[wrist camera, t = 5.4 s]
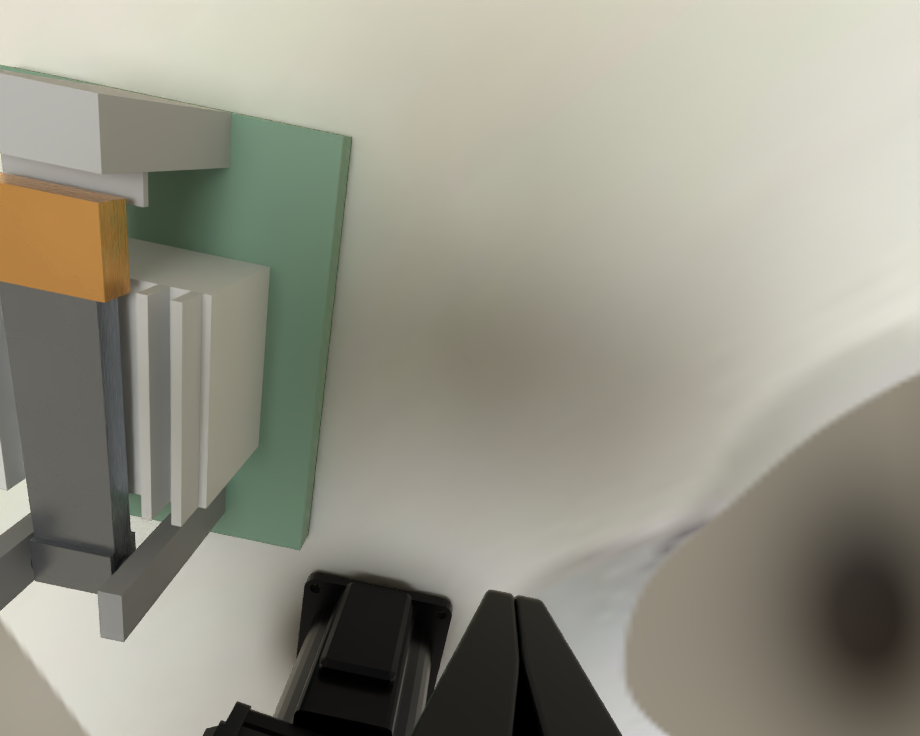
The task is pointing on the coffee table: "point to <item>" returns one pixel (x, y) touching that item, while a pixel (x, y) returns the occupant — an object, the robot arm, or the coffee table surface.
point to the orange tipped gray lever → (68, 373)
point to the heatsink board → (193, 315)
